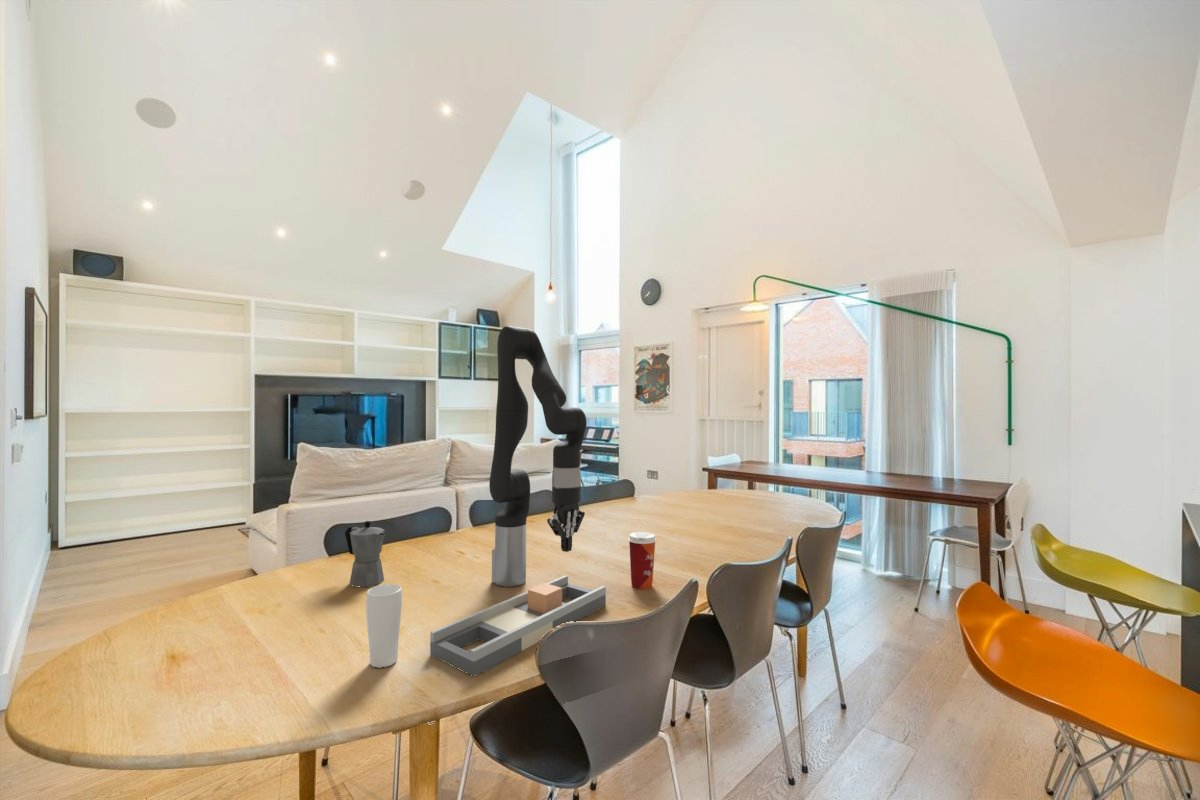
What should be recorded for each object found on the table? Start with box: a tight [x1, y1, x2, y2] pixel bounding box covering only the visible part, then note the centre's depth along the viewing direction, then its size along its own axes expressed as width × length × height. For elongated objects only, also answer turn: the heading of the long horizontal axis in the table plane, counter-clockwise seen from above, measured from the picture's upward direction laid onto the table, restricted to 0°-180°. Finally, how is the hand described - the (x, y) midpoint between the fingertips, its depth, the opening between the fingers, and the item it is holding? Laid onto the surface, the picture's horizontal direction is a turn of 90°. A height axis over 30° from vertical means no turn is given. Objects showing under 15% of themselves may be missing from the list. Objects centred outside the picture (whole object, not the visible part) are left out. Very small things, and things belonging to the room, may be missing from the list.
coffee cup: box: [627, 531, 657, 591], centre depth 150 cm, size 8×8×15 cm
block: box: [527, 582, 563, 614], centre depth 127 cm, size 6×6×4 cm
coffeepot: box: [344, 520, 386, 588], centre depth 152 cm, size 15×9×18 cm, turn 67°
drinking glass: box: [365, 583, 403, 669], centre depth 106 cm, size 7×7×15 cm
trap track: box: [429, 575, 607, 677], centre depth 122 cm, size 44×14×5 cm, turn 144°
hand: (566, 550), depth 133 cm, fingers closed
